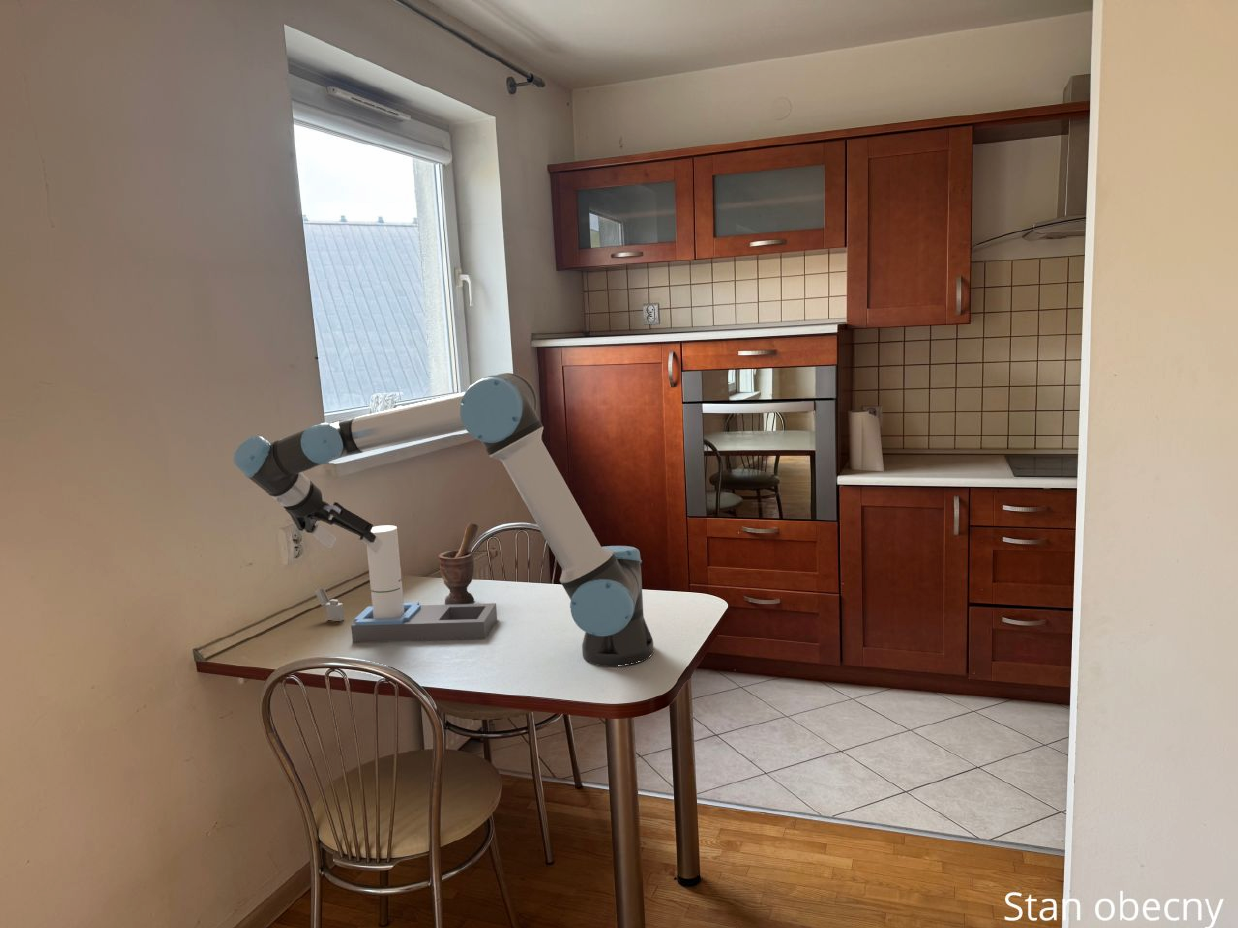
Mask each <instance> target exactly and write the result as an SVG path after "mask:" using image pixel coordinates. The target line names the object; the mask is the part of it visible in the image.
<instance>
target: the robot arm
mask: <svg viewBox="0 0 1238 928" xmlns="http://www.w3.org/2000/svg"><path fill="white" fill-rule="evenodd" d="M537 409H538V395H537V392H536V390H535V388H534V386H533V385H532V384H531V383H530V381H529V380H528V379H526V378H525V377H523V376H521V375H519V374H516V373H511V372H506V373H504V372H503V373H500V374H496V375H487V376H484V377H483V378H480V379H478V380H477V381H475V382H474V383H472V384H471V385H470V386H469V387H468V388H467V390H465V391H463V392H461V393H457V394H451V395H448V396H443V397H440V398H435V399H434V398H433V399H431V400H426V401H422V402H416V403H413V404H408V405H404V406H400V407H395V408H391V409H387V410H383V411H378V412H374V413H369V414H365V415H361V416H356V417H353V418H352V417H351V418H348V419H340V420H336V421H333V422H330V423H328V422H323V423H319V424H314V425H312V426H308V427H307V428H305V429H303V430H300V431H298V432H296V433H293V434H291V435H288V436H286V437H284V438H281V439H277V440H274V441H272V442H270V441H268V439H265V438H264V437H263V436H261V435H260V436H259V435H257V436H250V437H248V438H247V439H245V440H244V441H242V442H240V444H239V445H238V446H237V448H236V449H235V451H234V455H233V463H234V465H235V467H236V468H238V469H239V471H241V472H242V474H244V476H245V477H246V478H248V479H249V480H250V481H252V482H253V483H254V484H256V485H257V486H258V487H260V489H262V490H263V491H264V492H265V493H267V495H268V496H270V497H271V498H272V499H274V500H275V502H274V503H276V504H278V505H281V506H282V507H283V509H284V510H285V512H286V513H288V515H290V517H291V519H292V520H293V523H294V524H295V527H296V528H297V530H298V531H301V532H303V531H305V532H306V533H308V534H311V535H312V536H314V538H316V539H317V540H318V541H320V542H321V544H323V546H325V547H327V548H328V549H333V547H334V545H335V543H336V541H337V539H338V538H337V537H336V536H335V535H333V534H332V533H331V532H330V531H329V530H327V528H325V527H324V526H322V524H320V523H318V522H319V521H320V522H324V523H326V524H328V525H331V526H332V525H335V526H337V527H339V528H342V529H344V530H346V531H348V532H350V533H352V534H355V535H357V536H358V540H359V541H362V542H363V544H364V545H366V547H367V546H368V547H369V548H371V549H372V550H373V551H374V552H375V553H378V551H379V549H380V547H381V544H382V541H381V540H380V539H379V538H378V537H376V536H375V535H374V534H373V533H372V532H371V529H372V527H374V525H373V524H372V523H370V522H369V521H367V520H366V519H364V518H363V517H360V516H358V515H357V514H355V513H354V512H352V511H350V510H348V509H347V508H345V507H344V506H343V505H341V504H340V503H339V502H337V501H335V502H333V504H332V505H330V504H329V503H328V502H326V501H325V500H324V499H323V494H322V491H321V489H320V488H319V487H318V486H317V485H316V484H315V483H314V482H312V481H311V480H310V478H308V477H307V476H306V475H305V474H304V473H303V472H305V471H308V470H311V469H315V468H317V467H319V466H322V465H325V464H328V463H331V462H333V461H335V460H338V459H342V458H345V457H348V456H353V455H358V454H362V453H365V452H370V451H375V450H380V449H384V448H389V447H394V446H398V445H402V444H407V443H411V442H412V443H413V442H416V441H421V440H424V439H431V438H435V437H439V436H440V437H441V436H444V435H448V434H449V435H450V434H453V433H457V432H461V431H467V433H469V435H471V436H472V437H473V438H474V439H476V440H477V441H480V442H481V444H482V446H483V447H484V450H485V451H486V452H487V454H488V456H489V458H491V459H495V460H499V461H500V462H501V463H502V464H503V466H504V469H505V470H506V472H507V474H508V475H509V477H510V479H511V480H512V482H513V484H514V486H515V487H516V489H517V491H518V493H519V495H520V496H521V498H522V500H523V502H524V503H525V505H526V507H527V509H528V511H529V512H530V515H531V516H532V518H533V519H534V521H535V524H536V525H537V527H538V528H539V530H540V532H541V534H542V536H543V537H544V539H545V541H546V542H547V544H548V546H549V548H550V550H551V552H552V554H553V555H554V557H555V559H556V560H557V562H558V564H559V566H560V567H561V574H560V578H559V582H560V583H561V586H562V587H563V589H564V591H565V593H566V594H567V597H569V600H570V603H569V608H570V613H571V617H572V619H573V621H574V623H575V624H576V625H577V627H579V629H580V630H582V631H583V632H585V633H584V637H583V640H582V644H581V645H582V646H581V650H582V658H583V659H584V660H586V661H587V662H588V663H590V662H591V664H593V663H594V664H593V665H596V664H598V665H597V666H602V665H606V666H605V667H619V666H618V665H625V664H631V663H636V662H638V661H642V660H644V659H646V658H648V657H649V656H650V655H651V654H652V653H653V654H654V652H653V651H654V640H653V636H652V634H651V632H650V629H649V627H648V624H647V621H646V620H645V617H644V615H645V614H644V600H643V583H642V578H643V577H642V565H641V564H642V563H643V560H642V559H641V553H640V550H639V549H638V548H636V547H634V546H630V545H629V546H627V545H609V546H608V545H607V546H601V544H600V542H599V540H598V539H597V537H596V536H595V535H596V534H595V533H594V532H593V529H592V528H591V526H590V524H589V523H588V521H587V520H586V517H585V515H584V514H583V512H582V509H580V506H579V505H578V503H577V502H576V500H575V498H574V496H573V494H572V493H571V490H570V489H569V487H568V485H567V484H566V481H565V480H564V477H563V476H562V474H561V473H560V471H559V469H558V467H557V465H556V464H555V462H554V459H553V458H552V456H551V455H550V453H549V451H548V449H547V447H546V446H545V444H544V442H543V440H542V434H543V430H544V426H543V424H542V422H541V420H540V419H539V417H538V414H537ZM330 518H331V519H330ZM653 654H652V655H653ZM649 658H650V657H649ZM649 658H648V659H649ZM646 660H647V659H646ZM644 661H645V660H644ZM642 662H643V661H642ZM636 664H637V663H636Z"/></svg>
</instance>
